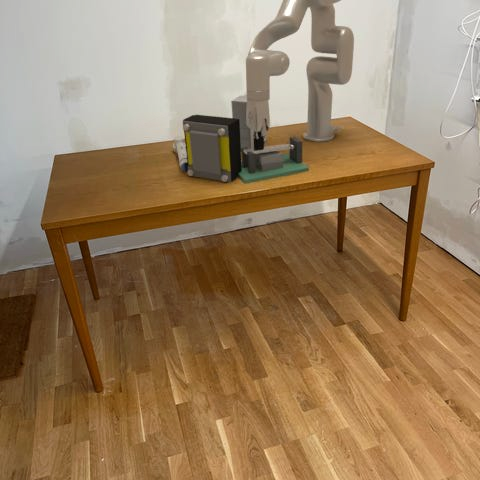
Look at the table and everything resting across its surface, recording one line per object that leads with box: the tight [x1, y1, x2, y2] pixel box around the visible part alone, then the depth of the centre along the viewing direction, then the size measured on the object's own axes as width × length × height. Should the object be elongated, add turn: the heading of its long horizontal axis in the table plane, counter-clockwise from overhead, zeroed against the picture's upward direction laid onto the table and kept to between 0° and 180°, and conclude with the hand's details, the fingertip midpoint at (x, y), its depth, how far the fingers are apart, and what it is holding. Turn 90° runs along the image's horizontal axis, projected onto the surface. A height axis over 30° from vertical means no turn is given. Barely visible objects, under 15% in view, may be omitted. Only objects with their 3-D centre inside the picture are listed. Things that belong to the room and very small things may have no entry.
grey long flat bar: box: [244, 141, 295, 155], centre depth 163 cm, size 18×4×1 cm, turn 111°
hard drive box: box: [230, 91, 267, 149], centre depth 183 cm, size 16×8×20 cm, turn 154°
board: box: [238, 136, 309, 184], centre depth 164 cm, size 24×16×9 cm, turn 111°
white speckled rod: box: [172, 135, 188, 173], centre depth 177 cm, size 5×7×25 cm
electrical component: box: [182, 114, 242, 183], centre depth 159 cm, size 18×10×20 cm, turn 62°
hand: (258, 148), depth 161 cm, fingers closed
